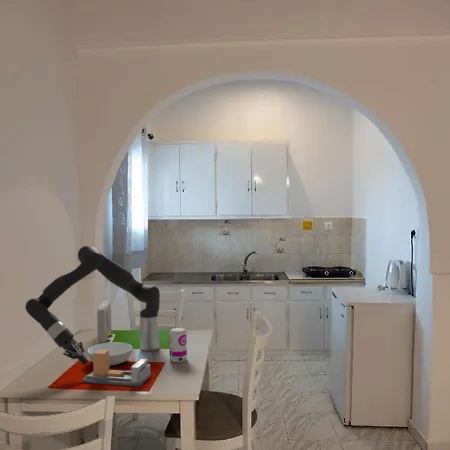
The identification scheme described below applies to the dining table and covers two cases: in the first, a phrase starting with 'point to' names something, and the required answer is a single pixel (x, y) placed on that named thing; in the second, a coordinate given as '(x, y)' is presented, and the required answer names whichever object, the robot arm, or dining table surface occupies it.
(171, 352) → the supplement can
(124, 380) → the rail
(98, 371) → the block
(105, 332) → the network device
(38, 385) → the dining table surface
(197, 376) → the dining table surface
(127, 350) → the serving bowl
